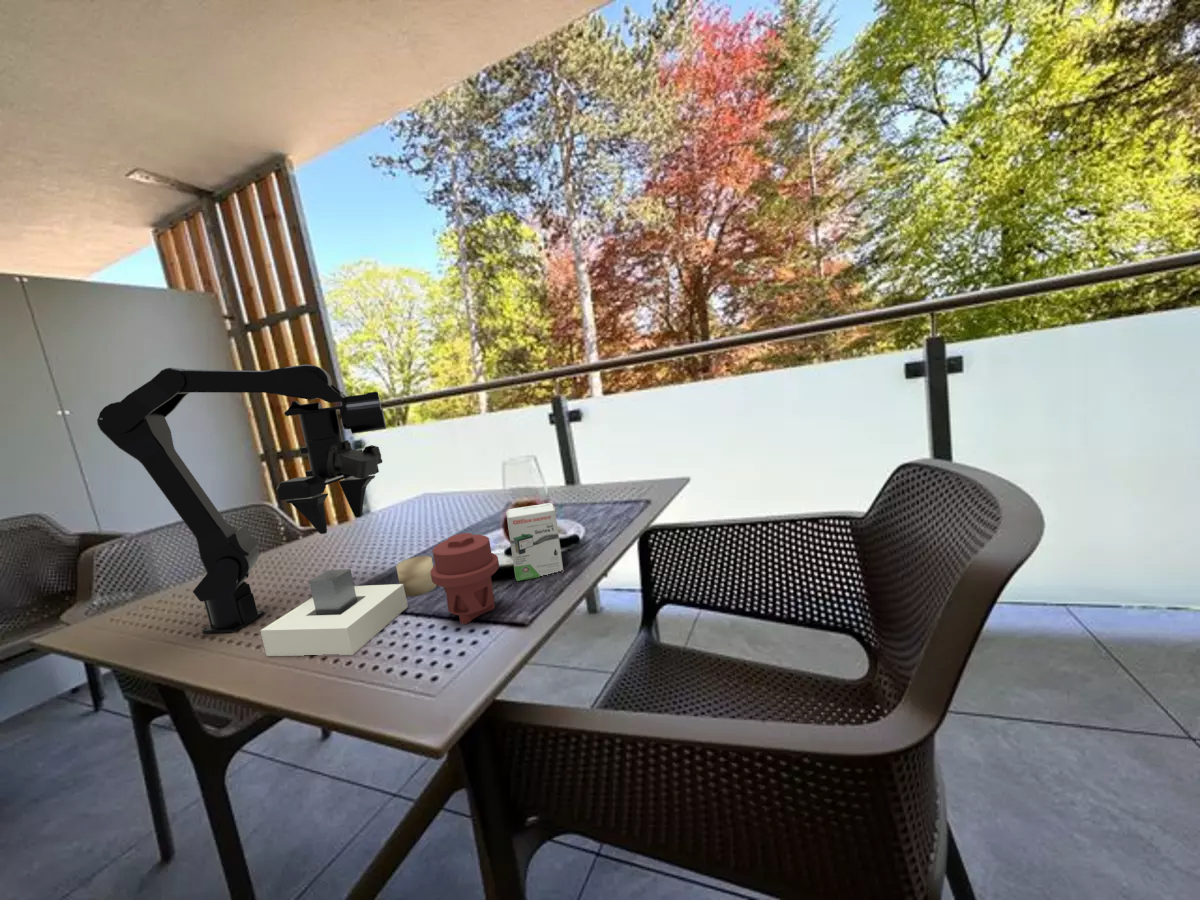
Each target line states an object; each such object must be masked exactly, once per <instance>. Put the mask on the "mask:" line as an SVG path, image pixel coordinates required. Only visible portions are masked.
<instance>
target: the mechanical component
mask: <svg viewBox="0 0 1200 900" xmlns="http://www.w3.org/2000/svg"><path fill="white" fill-rule="evenodd" d="M432 555H433V561H434V565H433V568H432V569H431V572H430V573H431V579H432V582H433V583H434V584H436V586H439V587H441V588H443V589H444V592H445V594H446V605H447V610H448V612H449V613H450V614H453V615H454V616H455V615H456V616H458V618H459V623H460V624H462V625H466V624H470V623H471V622H472V621H474V619H476V618H477V617H480V616H481V615H483V614H486V613H488V612H492V611H493V610H495V608H496V606H495V605H496V604H495V595H494V589H493V582H492V576H493V575H494V574H496V572H497V571H498V570H499V568H500V562H499V557H498V555H497V554H495V553H493V552H492V548H491V543H490V538H489V537H488V536H486V535H483V534H472V533H470V532H465V533H458V534H454V535H451V536H450V537H448V538H447V539H446V540H444V541H442V542H440V543H438V544H437V545H435V547H433V549H432Z"/></svg>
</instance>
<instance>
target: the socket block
mask: <svg viewBox="0 0 1200 900" xmlns="http://www.w3.org/2000/svg"><path fill="white" fill-rule="evenodd" d="M354 588H355V593H356V598H357V603H356V604H355V605H353V606H352V607H351V608H349V609H348V610H346V611H345V612H344V613H342V614H341V615H317V614H316V610H315V605H314V601H313V597H311V598H310V599H308V600H306V601H305V602H303V603H301V604H300V605H298V606H297V607H295V608H293V609H292V610H291V611H289V612H287V613H286V614H284V615H282V616H281V617H279V618H278V619H276V620H275V621H273V622H272V623H270V624H268V625H266V626H265V627H264V628H262V629H260V634H261V639H262V641H263V646H264V650H265V655H266V657H289V656H290V657H291V656H292V657H294V656H297V657H305V656H304V655H318V656H324V655H323V654H339V655H338V656H353V655H354V654H356V653H357V652H358V651H359V650H360V649H361V648H362V647H364V646H365V645H366V644H367V643H368V642H369V641H371V640H372V639H373V638H374V637H375V636H376V635H377V634H378V633H379V632H381V631H382V630H383V629H385V628H386V626H388V625H389V624H390V623H391V622H392V621H393V620H395V619H396V618H397V617H398V616H399V615H400V614H401V613H402V612H404V611H405V610H406V609H407V608H408V605H409V604H408V601H407V596H406V595H405V590H404V585H403V584H399V583H394V584H392V583H391V584H371V585H368V584H367V585H354Z"/></svg>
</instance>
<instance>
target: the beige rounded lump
mask: <svg viewBox="0 0 1200 900" xmlns="http://www.w3.org/2000/svg"><path fill="white" fill-rule="evenodd" d="M433 567H434V564H433V558H432V556H429V555H420V556H414V557H410V558H407V559H405V560H402V561H401V562H399V563H398V564H396V567H395V568H396V572H397V578H398V584H403V585H404V590H405V595H406V597H416V596H421V595H424V594H426V593H429V592H431V591H433V590H434V589H435V588H436V587H437V585H436V584H434V583H433V582H432V579H431V573H430V572H431V569H432V568H433Z"/></svg>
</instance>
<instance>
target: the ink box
mask: <svg viewBox="0 0 1200 900" xmlns="http://www.w3.org/2000/svg"><path fill="white" fill-rule="evenodd" d="M505 515H506V520H507V528H508V535H509V541H510V542H509V543H510V549H511V555H512V563H513V569H514V570H513V571H514V577H515V580H516V581H517V582H520V581H526V580H529V579H531V580H532V579H536V578H540V576H542V577H544V576H543V575H547V576H549V575H548V574H551V573H554V572H558V571H561V570H563V571H564V566H563V559H562V558H563V557H562V551H561V543H560V536H559V528H558V520H557V514H556V508H555V506H554V505H553V503H551V502H548V503H547V502H546V503H541V504H536V505H535V504H534V505H528V506H521V507H514V508H509V509H508V510H507V511H505Z"/></svg>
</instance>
